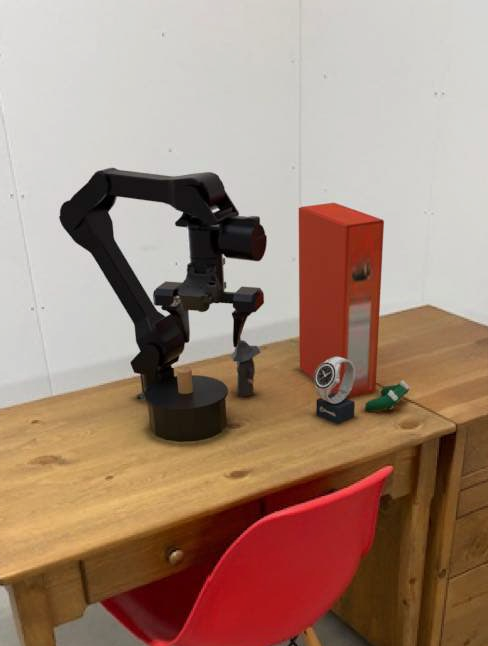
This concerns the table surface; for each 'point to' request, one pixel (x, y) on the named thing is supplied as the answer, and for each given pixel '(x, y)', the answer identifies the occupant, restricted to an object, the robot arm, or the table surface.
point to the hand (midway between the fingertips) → (211, 344)
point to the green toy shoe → (388, 397)
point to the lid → (185, 392)
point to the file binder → (340, 291)
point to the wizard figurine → (245, 367)
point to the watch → (334, 404)
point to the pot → (188, 423)
